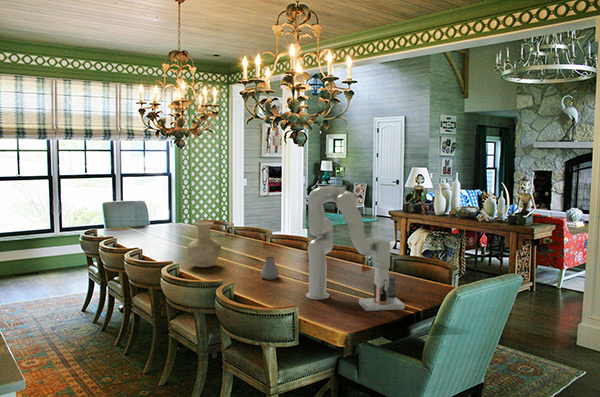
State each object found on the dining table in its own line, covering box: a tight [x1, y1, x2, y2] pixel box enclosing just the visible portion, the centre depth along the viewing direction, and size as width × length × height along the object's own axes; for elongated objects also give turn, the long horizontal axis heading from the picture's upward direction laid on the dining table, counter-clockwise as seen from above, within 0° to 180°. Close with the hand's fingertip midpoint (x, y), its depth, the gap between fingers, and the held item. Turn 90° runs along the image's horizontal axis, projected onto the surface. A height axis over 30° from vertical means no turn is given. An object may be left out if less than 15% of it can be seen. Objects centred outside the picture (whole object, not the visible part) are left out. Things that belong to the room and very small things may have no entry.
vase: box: [186, 221, 222, 268], centre depth 332 cm, size 22×22×30 cm
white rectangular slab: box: [358, 296, 405, 312], centre depth 249 cm, size 12×20×2 cm, turn 99°
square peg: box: [376, 286, 388, 304], centre depth 249 cm, size 4×4×9 cm
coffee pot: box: [248, 256, 280, 281], centre depth 300 cm, size 21×12×15 cm, turn 131°
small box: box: [373, 275, 396, 298], centre depth 266 cm, size 11×6×10 cm, turn 129°
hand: (381, 299), depth 249 cm, fingers closed on square peg, 4 cm apart
